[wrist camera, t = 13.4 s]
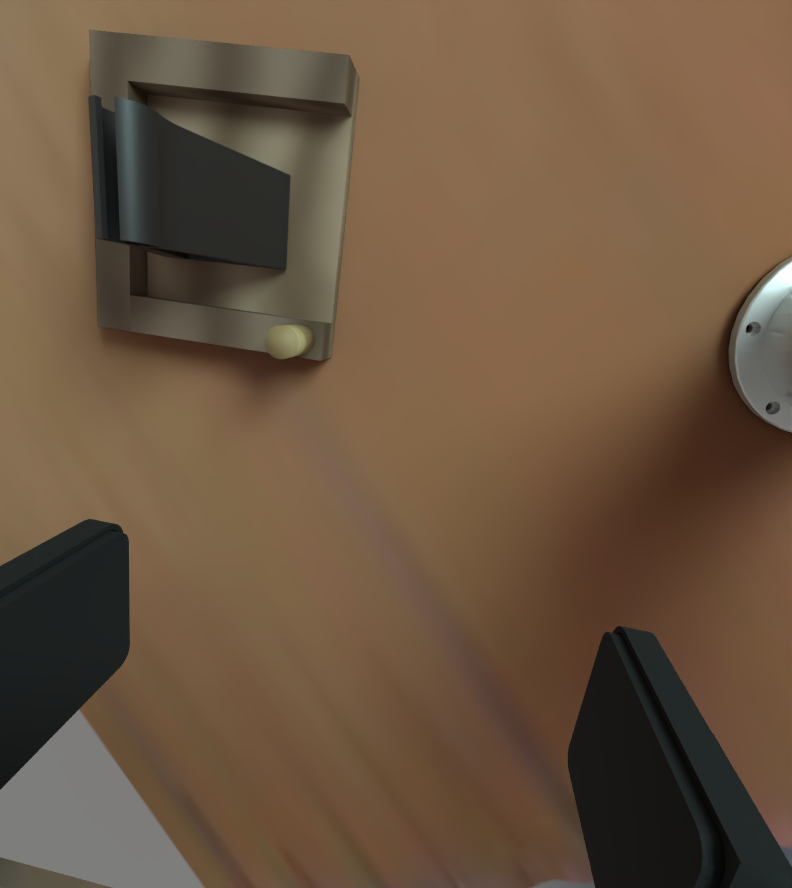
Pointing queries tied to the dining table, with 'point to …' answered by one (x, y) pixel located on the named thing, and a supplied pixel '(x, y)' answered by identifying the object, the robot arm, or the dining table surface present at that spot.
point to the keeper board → (259, 137)
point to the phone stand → (183, 191)
